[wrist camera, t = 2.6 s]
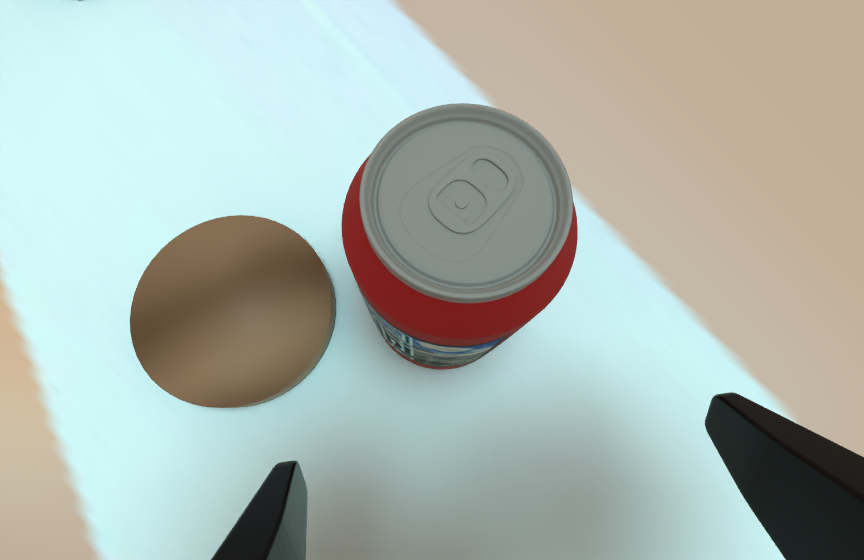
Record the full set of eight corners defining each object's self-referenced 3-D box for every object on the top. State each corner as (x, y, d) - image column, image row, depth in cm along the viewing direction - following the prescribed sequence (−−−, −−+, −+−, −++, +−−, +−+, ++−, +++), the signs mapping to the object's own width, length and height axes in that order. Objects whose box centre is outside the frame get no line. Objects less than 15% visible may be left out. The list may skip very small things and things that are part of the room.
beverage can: (345, 305, 23) (271, 197, 11) (437, 215, 24) (457, 37, 13) (444, 401, 21) (478, 392, 10) (534, 301, 23) (655, 191, 11)
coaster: (368, 343, 22) (365, 339, 21) (194, 446, 20) (177, 449, 19) (285, 198, 24) (277, 184, 23) (120, 281, 22) (100, 273, 21)
